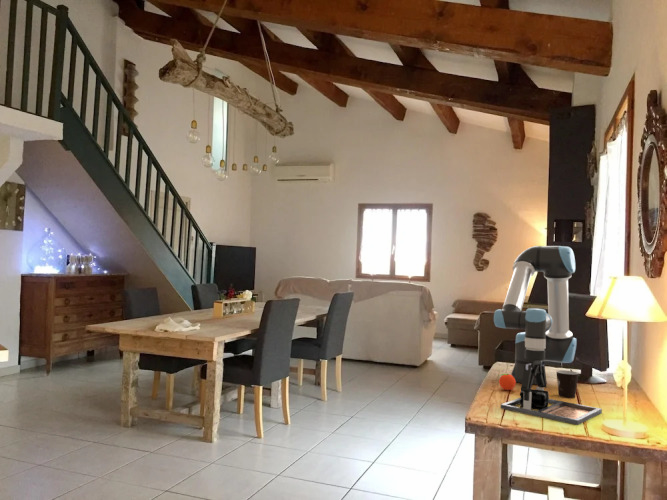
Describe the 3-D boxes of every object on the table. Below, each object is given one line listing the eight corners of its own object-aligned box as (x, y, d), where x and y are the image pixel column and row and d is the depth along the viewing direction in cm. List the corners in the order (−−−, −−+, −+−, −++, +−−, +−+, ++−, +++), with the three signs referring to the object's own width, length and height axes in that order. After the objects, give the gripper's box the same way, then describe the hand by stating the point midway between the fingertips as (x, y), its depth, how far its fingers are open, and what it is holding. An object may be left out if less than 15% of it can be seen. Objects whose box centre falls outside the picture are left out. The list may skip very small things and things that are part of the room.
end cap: (548, 407, 219) (549, 389, 219) (545, 411, 212) (546, 393, 212) (521, 403, 223) (522, 386, 223) (518, 407, 217) (518, 389, 217)
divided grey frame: (528, 398, 232) (528, 394, 232) (601, 412, 212) (601, 408, 212) (500, 408, 214) (500, 404, 214) (577, 424, 195) (577, 420, 195)
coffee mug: (557, 392, 244) (558, 369, 244) (579, 395, 240) (579, 372, 240) (553, 398, 234) (553, 373, 234) (575, 401, 230) (576, 376, 230)
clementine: (496, 390, 245) (496, 374, 245) (496, 387, 252) (497, 371, 252) (515, 392, 242) (515, 375, 243) (515, 389, 249) (516, 372, 249)
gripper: (538, 345, 229) (536, 400, 229) (512, 350, 212) (510, 409, 212) (556, 347, 224) (555, 403, 224) (531, 353, 207) (530, 413, 207)
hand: (533, 406), depth 218 cm, fingers open, 11 cm apart
